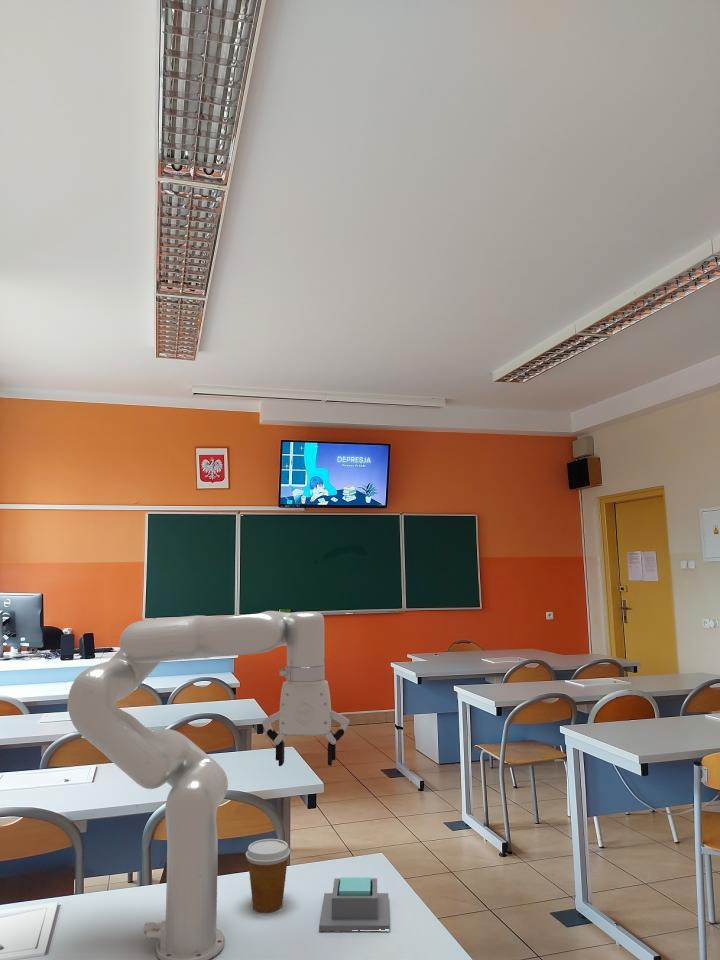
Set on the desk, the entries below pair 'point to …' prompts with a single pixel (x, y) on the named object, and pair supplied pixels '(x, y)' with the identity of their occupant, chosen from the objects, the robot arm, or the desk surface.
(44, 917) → the desk surface
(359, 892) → the button cap
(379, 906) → the button housing
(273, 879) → the disposable coffee cup
